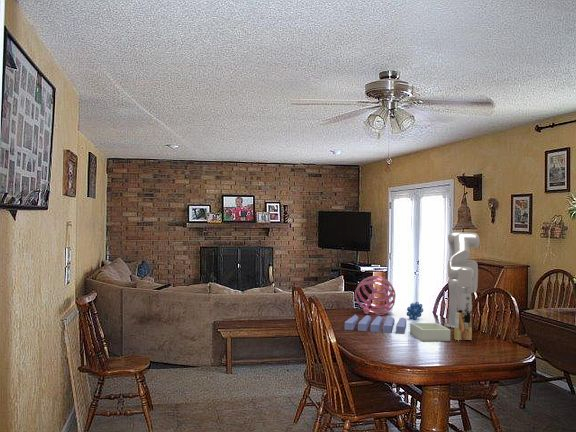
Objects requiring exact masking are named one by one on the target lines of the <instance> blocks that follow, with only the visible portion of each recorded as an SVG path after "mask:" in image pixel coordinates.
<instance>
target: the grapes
mask: <svg viewBox="0 0 576 432" xmlns="http://www.w3.org/2000/svg"><path fill="white" fill-rule="evenodd" d="M406 311H407V312H406V316H407V317H408V319H409V320H414V321H415V320H418V318H420V317H421V316H422V313H423V312H424V308H423V304H421V303H419V301H415V302H411V303H410V304H409V306H408V307H407V308H406Z"/></svg>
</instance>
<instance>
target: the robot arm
mask: <svg viewBox="0 0 576 432" xmlns="http://www.w3.org/2000/svg"><path fill="white" fill-rule="evenodd" d="M447 241H448V245H449V248H450V251H451V256H450V258H449V260H448V262H447V276H448V278H449V279H448V283H447V284H448V289H449V297H448V299H449V302H448V304H449V307H448V323H446V324H445V327H446V328H450V327H451V329H455V313H464V312H465V315H464V322H465V323H470V315H471V313H472V311H473V300H472V299H473V297H472V293H476V292H477V291H478V283H479V282H478V281H479V266H478V262H477V261H476V260H474V259H468V258H470V256H471V254H470V253H471V252H470V251H471V250H470V248H473V249H474V248H475V249H477V248H479V246H480V243H481V241H480V236H479V234H478V233H476V232H466V231H465V232H464V231H454V232H450V233H449V234H448V236H447ZM466 312H467V313H466Z"/></svg>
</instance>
